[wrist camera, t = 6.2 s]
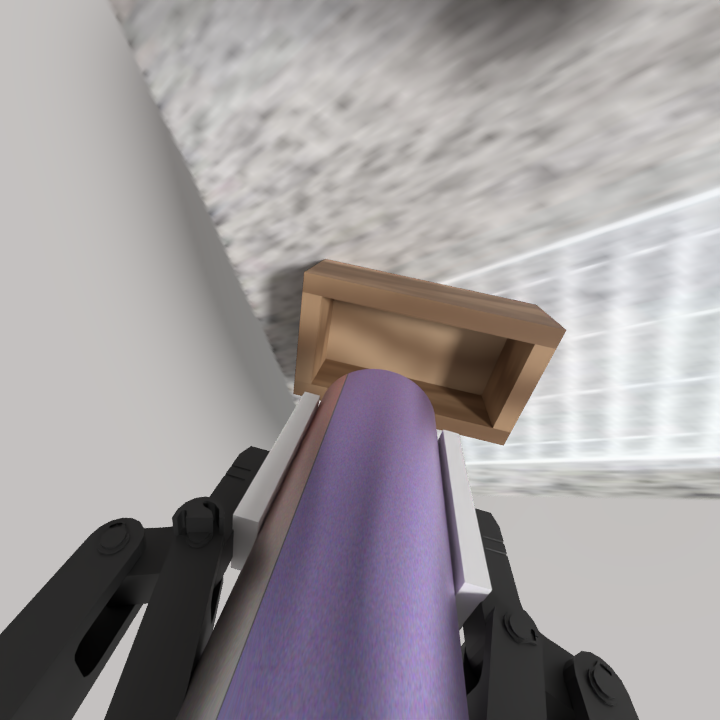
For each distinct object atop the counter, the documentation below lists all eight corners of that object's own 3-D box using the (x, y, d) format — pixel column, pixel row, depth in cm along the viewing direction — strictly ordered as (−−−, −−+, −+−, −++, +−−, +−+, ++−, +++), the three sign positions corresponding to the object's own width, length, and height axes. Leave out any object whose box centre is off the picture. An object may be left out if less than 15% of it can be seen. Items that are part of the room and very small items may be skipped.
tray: (325, 259, 28) (304, 272, 22) (536, 304, 27) (566, 330, 21) (312, 363, 33) (293, 393, 28) (488, 405, 32) (503, 445, 26)
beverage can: (405, 344, 14) (344, 1845, 1) (450, 437, 16) (616, 1393, 3) (303, 385, 16) (-158, 1138, 3) (354, 464, 18) (206, 1130, 5)
